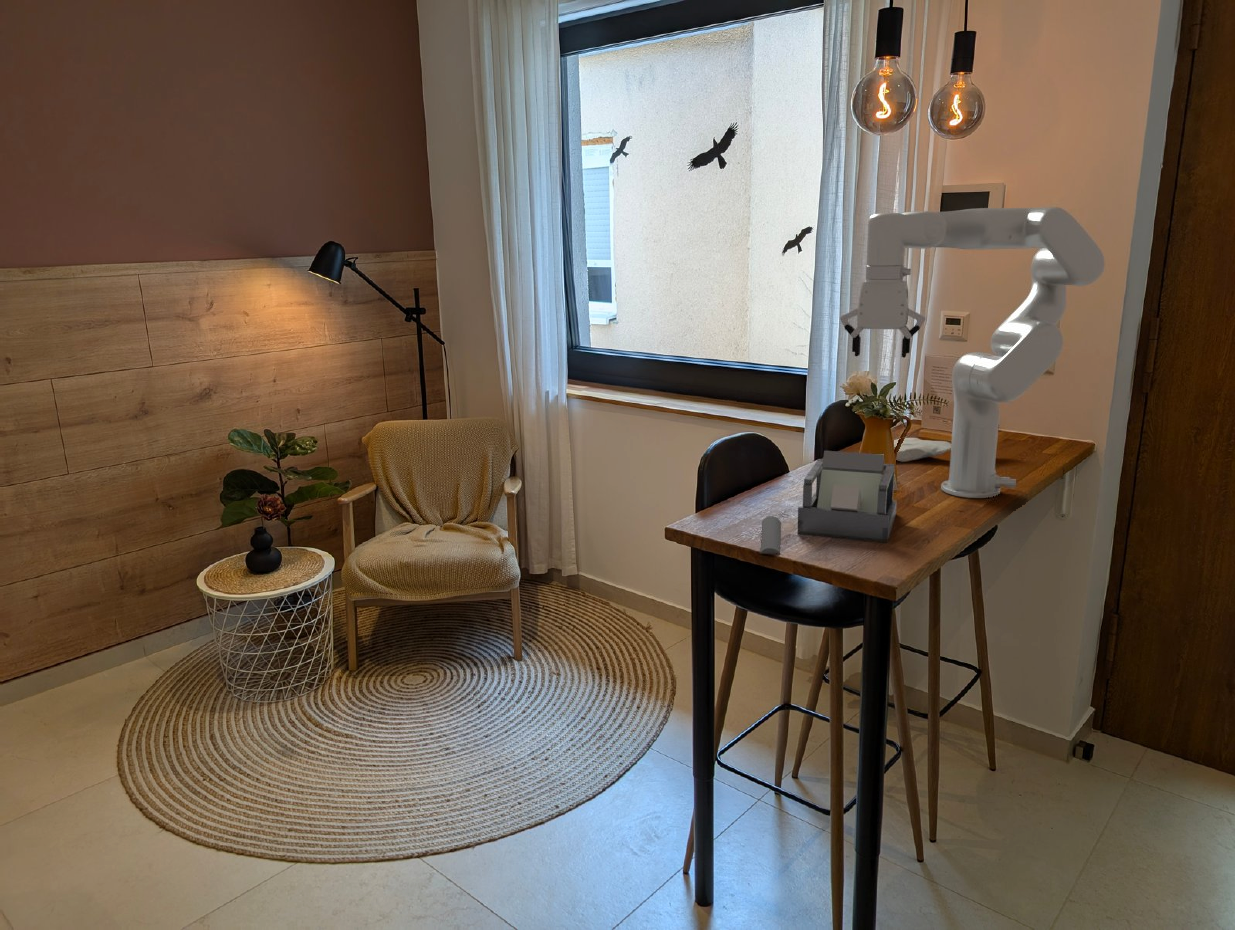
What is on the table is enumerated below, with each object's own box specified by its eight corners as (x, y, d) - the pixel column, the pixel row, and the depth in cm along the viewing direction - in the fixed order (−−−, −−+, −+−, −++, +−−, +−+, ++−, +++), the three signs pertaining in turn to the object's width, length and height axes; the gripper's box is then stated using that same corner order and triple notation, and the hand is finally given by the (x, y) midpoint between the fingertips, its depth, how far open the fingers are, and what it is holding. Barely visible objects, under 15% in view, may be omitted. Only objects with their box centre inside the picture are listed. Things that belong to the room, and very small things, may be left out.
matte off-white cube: (861, 499, 179) (859, 486, 174) (858, 522, 177) (856, 509, 172) (836, 497, 181) (834, 484, 176) (833, 519, 179) (830, 506, 174)
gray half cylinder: (758, 556, 167) (758, 547, 167) (760, 523, 186) (760, 515, 185) (781, 557, 167) (781, 548, 166) (781, 524, 185) (781, 516, 185)
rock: (925, 472, 221) (959, 456, 229) (924, 455, 220) (958, 439, 228) (855, 463, 238) (889, 448, 246) (854, 446, 236) (888, 432, 245)
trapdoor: (884, 458, 183) (883, 454, 181) (878, 519, 179) (877, 516, 177) (825, 454, 187) (824, 450, 185) (818, 514, 184) (816, 510, 182)
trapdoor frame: (896, 513, 188) (898, 463, 186) (887, 542, 171) (890, 488, 169) (813, 506, 195) (815, 458, 192) (797, 533, 178) (798, 480, 175)
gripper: (929, 273, 186) (924, 355, 190) (844, 273, 192) (841, 352, 196) (927, 275, 179) (921, 359, 183) (839, 275, 185) (836, 357, 189)
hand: (880, 356), depth 190 cm, fingers open, 9 cm apart
